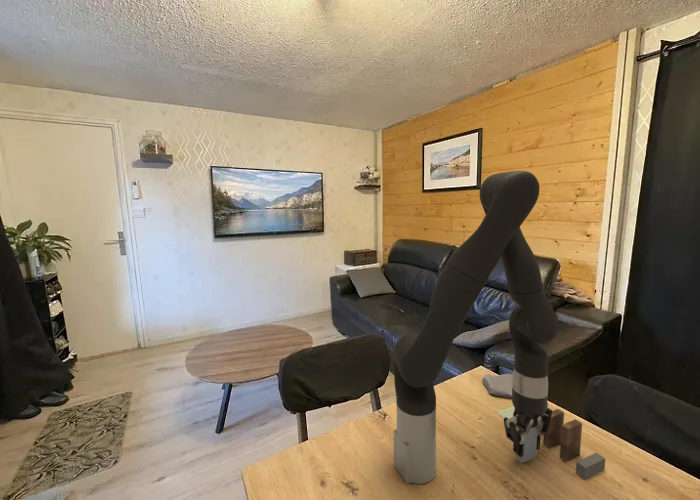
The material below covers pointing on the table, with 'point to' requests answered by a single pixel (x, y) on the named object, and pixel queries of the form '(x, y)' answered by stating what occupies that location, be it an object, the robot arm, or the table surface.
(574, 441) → the domino
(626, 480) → the table surface
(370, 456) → the table surface
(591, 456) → the block
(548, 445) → the domino
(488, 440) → the table surface
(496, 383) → the stone block
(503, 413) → the pad
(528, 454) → the domino
